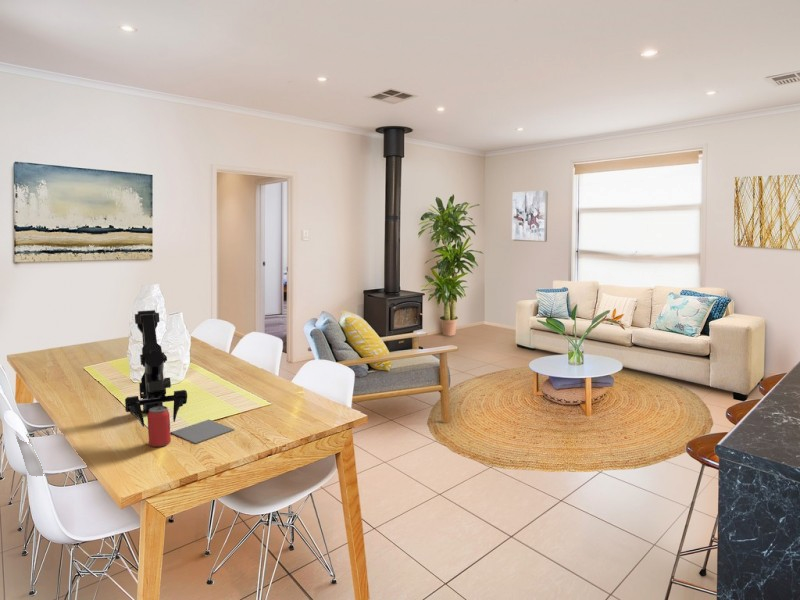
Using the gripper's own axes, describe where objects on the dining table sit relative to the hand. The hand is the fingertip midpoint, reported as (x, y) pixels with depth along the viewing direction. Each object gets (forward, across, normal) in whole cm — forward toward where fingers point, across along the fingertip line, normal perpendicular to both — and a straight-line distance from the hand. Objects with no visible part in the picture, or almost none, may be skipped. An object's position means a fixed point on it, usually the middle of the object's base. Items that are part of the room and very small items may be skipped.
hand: (159, 423), depth 169 cm
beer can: (+5, 0, +6) cm, 7 cm away
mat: (+2, +14, +9) cm, 16 cm away
